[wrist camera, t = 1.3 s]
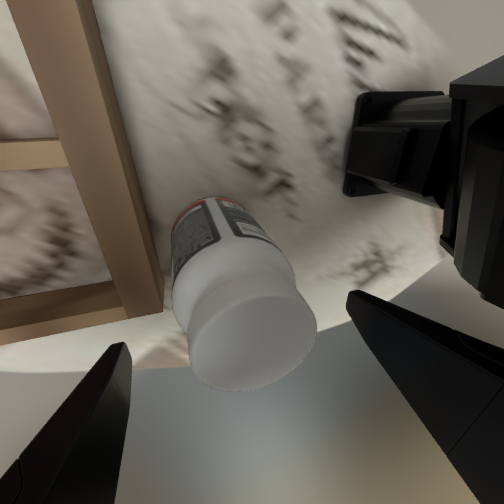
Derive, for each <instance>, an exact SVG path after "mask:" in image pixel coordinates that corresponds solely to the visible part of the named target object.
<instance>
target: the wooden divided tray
mask: <svg viewBox="0 0 504 504" xmlns="http://www.w3.org/2000/svg"><path fill="white" fill-rule="evenodd" d="M6 2H7V4H8V7H9V9H10V12H11V15H12V17H13V20H14V23H15V25H16V28H17V30H18V33H19V36H20V38H21V41H22V43H23V46H24V49H25V51H26V54H27V56H28V59H29V62H30V64H31V67H32V70H33V72H34V75H35V77H36V80H37V83H38V85H39V88H40V90H41V93H42V96H43V98H44V101H45V103H46V106H47V109H48V111H49V114H50V117H51V119H52V122H53V124H54V127H55V130H56V132H57V135H58V137H59V138H36V139H13V140H0V171H12V170H26V169H41V168H55V167H70V169H71V171H72V174H73V177H74V179H75V182H76V184H77V187H78V190H79V192H80V195H81V197H82V200H83V203H84V205H85V208H86V211H87V213H88V216H89V218H90V221H91V224H92V226H93V229H94V231H95V234H96V237H97V239H98V242H99V244H100V247H101V250H102V252H103V255H104V258H105V260H106V263H107V265H108V268H109V271H110V273H111V276H112V278H113V281H109V282H103V283H98V284H92V285H86V286H80V287H74V288H68V289H63V290H57V291H51V292H45V293H39V294H33V295H28V296H22V297H16V298H10V299H4V300H0V345H5V344H10V343H15V342H20V341H25V340H29V339H34V338H39V337H44V336H49V335H53V334H58V333H63V332H68V331H73V330H78V329H82V328H87V327H92V326H97V325H102V324H107V323H111V322H116V321H121V320H126V319H131V318H135V317H140V316H145V315H150V314H155V313H160V312H163V300H164V281H163V277H162V273H161V269H160V265H159V261H158V257H157V253H156V249H155V246H154V242H153V238H152V234H151V230H150V226H149V222H148V218H147V214H146V211H145V207H144V203H143V199H142V195H141V191H140V187H139V183H138V180H137V176H136V172H135V168H134V164H133V160H132V156H131V152H130V148H129V145H128V141H127V137H126V133H125V129H124V125H123V121H122V117H121V113H120V110H119V106H118V102H117V98H116V94H115V90H114V86H113V82H112V78H111V75H110V71H109V67H108V63H107V59H106V55H105V51H104V47H103V43H102V40H101V36H100V32H99V28H98V24H97V20H96V16H95V12H94V8H93V5H92V1H91V0H6Z"/></svg>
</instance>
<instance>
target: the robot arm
mask: <svg viewBox="0 0 504 504" xmlns="http://www.w3.org/2000/svg"><path fill="white" fill-rule="evenodd" d="M366 98H367V99H368V102H367V105H365V100H366ZM346 169H347V170H346V177H345V183H344V189H343V193H344V195H346V196H348V197H358V196H366V195H374V194H382V193H393V194H396V195H399V196H402V197H405V198H408V199H411V200H414V201H417V202H420V203H423V204H426V205H429V206H432V207H435V208H438V209H441V210H444V215H443V230H442V235H440V245H441V246H442V247H443V248H444V249H445V250H446V251H447V252H448V253H449V254H450V255H451V256H453V258H454V265H455V266H456V268H457V270H458V272H459V273H460V275H461V277H462V278H463V279H465V280H466V281H467V282H468V283H469V284H470V285H472V286H473V287H474V288H475V289H476V290H478V291H479V292H480V294H479V295H480V297H481V298H482V299H483V300H485V301H488V302H489V303H492V304H494V305H496V306H498V307H500V308H502V309H504V55H503V56H501V57H499V58H498V59H495V60H493V61H491V62H490V63H488V64H486V65H484V66H482V67H480V68H478V69H476V70H474V71H472V72H470V73H468V74H466V75H464V76H462V77H460V78H458V79H456V80H454V81H452V82H450V89H449V95H444V93H443V92H442V91H404V92H365V93H363V94H361V95H360V97H359V98H358V101H357V107H356V113H355V120H354V126H353V131H352V136H351V143H350V149H349V156H348V162H347V168H346ZM351 188H352V191H351V192H350V189H351ZM346 310H347V312H348V314H349V315H350V317H351V319H352V321H353V322H354V324H355V326H356V327H357V329H358V331H359V333H360V334H361V336H362V338H363V339H364V341H365V343H366V344H367V346H368V347H369V348H370V350H371V351H372V353H373V354H374V355H375V357H376V358H377V359H378V361H379V362H380V364H381V365H382V367H383V368H384V369H385V371H386V372H387V373H388V375H389V376H390V378H391V379H392V380H393V382H394V383H395V385H396V386H397V387H398V389H399V390H400V391H401V393H402V395H403V396H404V397H405V399H406V400H407V401H408V403H409V404H410V406H411V407H412V409H413V410H414V411H415V413H416V414H417V416H418V417H419V418H420V420H421V421H422V423H423V424H424V425H425V427H426V428H427V429H428V431H429V432H430V434H431V435H432V437H433V438H434V439H435V441H436V442H437V444H438V445H439V446H440V448H441V449H442V451H443V452H444V453H445V455H447V458H448V459H449V461H450V462H451V463H452V465H453V466H454V468H455V469H456V470H457V472H458V473H459V475H460V476H461V477H462V478H463V480H464V482H465V483H466V484H467V486H468V487H469V488H470V490H471V491H472V493H473V494H474V495H475V497H476V498H477V500H478V501H479V503H480V504H504V349H502V348H500V347H497V346H494V345H492V344H489V343H486V342H483V341H481V340H479V339H476V338H474V337H471V336H469V335H466V334H464V333H462V332H459V331H457V330H453V329H451V328H450V327H447V326H445V325H442V324H440V323H438V322H435V321H433V320H430V319H428V318H426V317H423V316H421V315H418V314H416V313H414V312H411V311H409V310H407V309H404V308H402V307H399V306H397V305H395V304H392V303H390V302H387V301H385V300H383V299H380V298H378V297H375V296H373V295H371V294H368V293H366V292H364V291H361V290H353V291H350V292H349V293H348V298H347V302H346ZM131 375H132V358H131V355H130V352H129V350H128V348H127V345H126V343H125V342H119V343H115V344H112V345H111V346H109V348H108V349H107V350H106V351H105V352H104V354H103V355H102V356H101V357H100V359H99V360H98V361H97V362H96V363H95V365H94V366H93V367H92V368H91V369H90V371H89V372H88V373H87V374H86V376H85V377H84V378H83V379H82V380H81V382H80V383H79V384H78V385H77V386H76V388H75V389H74V390H73V391H72V393H71V394H70V395H69V396H68V397H67V399H66V400H65V401H64V402H63V403H62V405H61V406H60V407H59V408H58V410H57V411H56V412H55V413H54V414H53V416H52V417H51V418H50V419H49V420H48V422H47V423H46V424H45V425H44V426H43V428H42V429H41V430H40V431H39V432H38V434H37V435H36V436H35V438H33V440H32V441H31V442H30V444H29V445H28V446H27V447H26V448H25V449H24V451H23V452H22V453H21V454H20V456H19V459H16V460H15V461H14V463H13V464H12V465H11V466H10V468H9V469H8V470H7V471H6V472H5V474H4V475H3V476H2V477H1V478H0V504H114V502H115V496H116V490H117V484H118V478H119V471H120V466H121V460H122V453H123V448H124V441H125V435H126V429H127V422H128V417H129V410H130V397H131V377H132V376H131Z"/></svg>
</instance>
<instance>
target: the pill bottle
mask: <svg viewBox="0 0 504 504" xmlns="http://www.w3.org/2000/svg"><path fill="white" fill-rule="evenodd" d="M171 272H172V306H173V312H174V315H175V318H176V320H177V322H178V324H179V325H180V327H181V328H182V329H183V330H184V332H185V333H186V334H187V343H188V350H189V359H190V365H191V368H192V370H193V372H194V374H195V376H196V377H197V378H198V379H199V380H200V381H201V382H202V383H203V384H205V385H207V386H209V387H211V388H213V389H217V390H221V391H227V392H239V391H247V390H252V389H256V388H260V387H263V386H265V385H268V384H271V383H273V382H275V381H277V380H279V379H280V378H282V377H284V376H285V375H287V374H288V373H289V372H290V371H292V370H293V369H295V368H296V367H297V366H298V365H299V364H300V363H301V362H302V361H303V360H304V359H305V357H306V356H307V355H308V353H309V351H310V350H311V348H312V345H313V344H314V341H315V338H316V333H317V324H316V319H315V316H314V313H313V312H312V310H311V308H310V307H309V305H308V304H307V302H306V301H305V299H304V298H303V297H302V295H301V294H300V292H299V291H298V290H297V289H296V280H295V274H294V271H293V269H292V266H291V264H290V263H289V261H288V260H287V258H286V257H285V255H284V254H283V253H282V251H281V250H280V249H279V248H278V247H277V246H276V244H275V243H274V242H273V241H272V240H271V239H270V237H269V236H268V235H267V234H266V233H265V231H264V230H263V229H262V228H261V227H260V226H259V224H258V223H257V222H256V221H255V220H254V218H253V217H252V216H251V215H250V214H249V212H248V211H247V210H246V209H245V208H243V207H242V206H241V205H240V204H238V203H236V202H234V201H232V200H230V199H226V198H220V197H210V198H205V199H201V200H198V201H196V202H194V203H192V204H191V205H189V206H188V207H186V208H185V209H184V210H183V211H182V212H181V213H180V215H179V216H178V218H177V219H176V221H175V223H174V226H173V229H172V234H171Z"/></svg>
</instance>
